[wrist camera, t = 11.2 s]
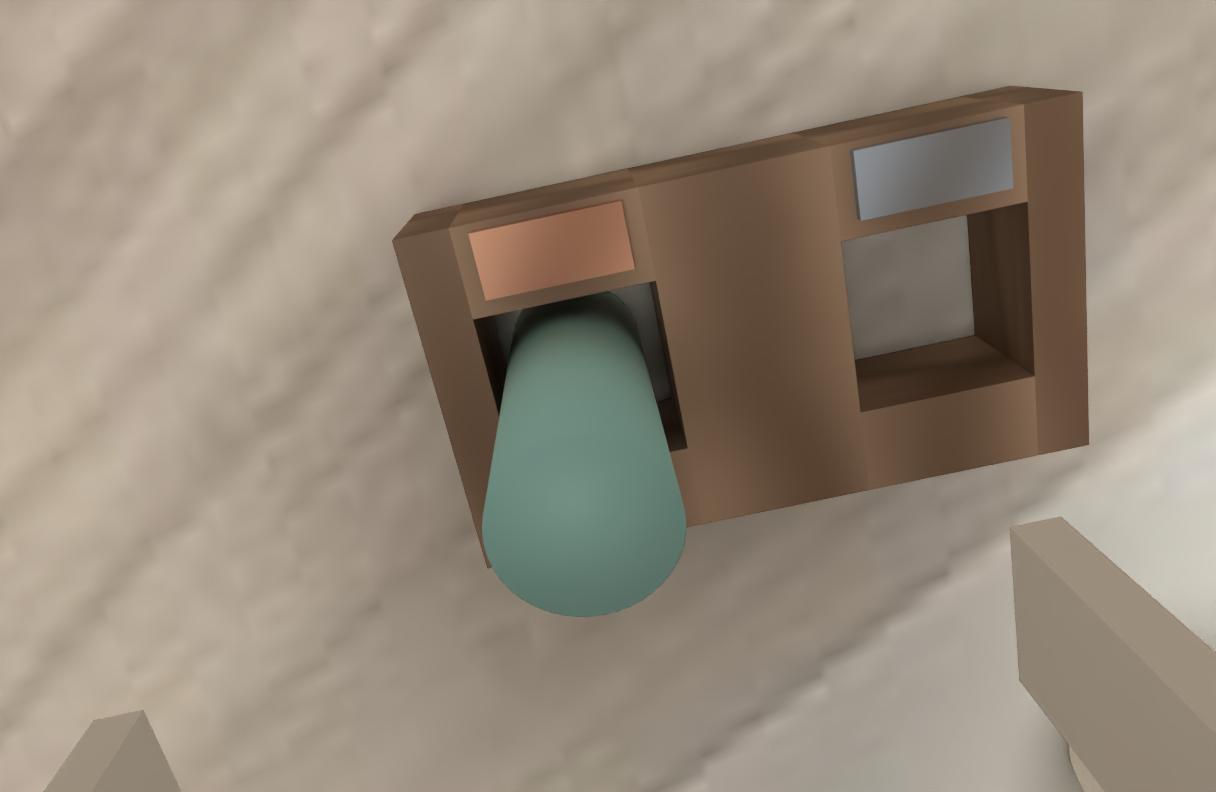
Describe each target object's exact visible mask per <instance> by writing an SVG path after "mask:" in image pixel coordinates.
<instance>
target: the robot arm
mask: <svg viewBox="0 0 1216 792" xmlns="http://www.w3.org/2000/svg"><path fill="white" fill-rule="evenodd" d="M1010 539H1011V555H1012V571H1013V587H1014V603H1015V619H1016V636H1017V652H1018V668H1019V680H1020V682H1021V683H1022V684H1023V686H1024V687H1025V688H1026V690H1027V691H1028V692H1029V694H1030V695H1031V696H1032V697H1033V699H1034V700H1035V701H1036V703H1037V704H1038V705H1039V707H1040V708H1041V709H1042V711H1043V712H1044V713H1045V714H1046V716H1047V717H1048V718H1049V720H1050V721H1051V722H1052V724H1053V725H1054V726H1055V727H1056V729H1057V730H1058V731H1059V733H1060V734H1061V735H1062V737H1063V738H1064V739H1065V741H1066V742H1067V743H1068V744H1069V746H1070V747H1071V748H1072V750H1073V751H1074V752H1075V754H1076V755H1077V756H1078V758H1079V759H1080V760H1081V761H1082V763H1083V764H1084V765H1085V767H1086V768H1087V769H1088V771H1089V772H1090V773H1091V775H1092V776H1093V777H1094V778H1095V780H1096V781H1097V782H1098V784H1099V785H1100V786H1101V788H1102V789H1103V790H1104V792H1216V652H1214V651H1213V650H1212V649H1211V648H1210V647H1209V646H1208V645H1207V644H1205V643H1204V642H1203V641H1202V640H1201V639H1200V638H1199V637H1197V636H1196V635H1195V634H1194V633H1193V632H1192V631H1191V630H1189V629H1188V628H1187V627H1186V626H1185V625H1184V624H1183V623H1182V622H1180V621H1179V620H1178V619H1177V618H1176V617H1175V616H1174V615H1172V614H1171V613H1170V612H1169V611H1168V610H1167V609H1166V608H1164V607H1163V606H1162V605H1161V604H1160V603H1159V602H1158V601H1156V600H1155V599H1154V598H1153V597H1152V596H1151V595H1150V594H1149V593H1147V592H1146V591H1145V590H1144V589H1143V588H1142V587H1141V586H1139V585H1138V584H1137V583H1136V582H1135V581H1134V580H1133V579H1131V578H1130V577H1129V576H1128V575H1127V574H1126V573H1125V572H1123V571H1122V570H1121V569H1120V568H1119V567H1118V566H1117V565H1116V564H1114V563H1113V562H1112V561H1111V560H1110V559H1109V558H1108V557H1106V556H1105V555H1104V554H1103V553H1102V552H1101V551H1100V550H1098V549H1097V548H1096V547H1095V546H1094V545H1093V544H1092V543H1091V542H1089V541H1088V540H1087V539H1086V538H1085V537H1084V536H1083V535H1081V534H1080V533H1079V532H1078V531H1077V530H1076V529H1075V528H1073V527H1072V526H1071V525H1070V524H1069V523H1068V522H1067V521H1065V520H1064V519H1063V518H1062V517H1057V518H1052V519H1047V520H1043V521H1038V522H1033V523H1028V524H1024V525H1019V526H1014V527H1010ZM44 792H181V790H180V788H179V786H178V784H177V781H176V779H175V777H174V775H173V773H172V771H171V768H170V766H169V764H168V762H167V760H166V758H165V755H164V753H163V751H162V749H161V747H160V745H159V742H158V740H157V738H156V736H155V734H154V732H153V730H152V727H151V725H150V723H149V721H148V719H147V717H146V714H145V712H144V710H141V711H136V712H131V713H127V714H122V715H117V716H113V717H108V718H103V719H98V720H94V721H93V722H92V723H91V725H90V726H89V728H88V729H87V731H86V732H85V733H84V735H83V736H82V738H81V739H80V741H79V742H78V743H77V745H76V746H75V748H74V749H73V751H72V752H71V753H70V755H69V756H68V758H67V759H66V761H65V762H64V763H63V765H62V766H61V768H60V769H59V771H58V772H57V773H56V775H55V776H54V778H53V779H52V781H51V782H50V783H49V785H48V786H47V788H46V789H45V791H44Z"/></svg>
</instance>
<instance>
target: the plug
mask: <svg viewBox="0 0 1216 792" xmlns="http://www.w3.org/2000/svg"><path fill="white" fill-rule="evenodd" d="M482 536H483V543H484V547H485V551H486V554H487V557H488V559H489V562H490V564H491V566H492V567H493V569H494V571H495V573H496V574H497V575H498V577H499V578H500V579H501V581H502V582H503V583H504V584H505V585H506V586H507V587H508V588H509V589H510V590H511V591H512V592H513V593H515V594H516V595H517V596H518V597H520V598H521V599H523V600H524V601H526V602H528V603H529V604H531V605H533V606H536V607H538V608H540V609H542V610H545V611H549V612H552V613H555V614H560V615H566V616H576V617H588V616H599V615H605V614H609V613H613V612H617V611H620V610H622V609H625V608H627V607H630V606H632V605H634V604H636V603H638V602H639V601H641V600H643V599H644V598H646V597H647V596H648V595H650V594H651V593H652V592H654V591H655V590H656V589H657V588H658V587H659V586H660V585H661V584H662V583H663V582H664V581H665V580H666V579H667V577H668V576H669V575H670V573H671V572H672V570H673V569H674V567H675V565H676V563H677V561H678V559H679V557H680V555H681V552H682V549H683V546H684V541H685V536H686V515H685V508H684V504H683V501H682V497H681V493H680V489H679V486H678V482H677V478H676V474H675V471H674V467H673V463H672V459H671V456H670V452H669V448H668V444H667V441H666V437H665V433H664V429H663V425H662V422H661V418H660V414H659V410H658V407H657V403H656V399H655V395H654V392H653V388H652V384H651V380H650V377H649V373H648V369H647V365H646V362H645V358H644V354H643V350H642V346H641V343H640V339H639V335H638V331H637V328H636V324H635V322H634V319H633V317H632V315H631V313H630V312H629V310H628V309H627V307H626V306H625V305H624V304H623V303H622V302H621V301H620V300H619V299H618V298H617V297H616V296H615V295H613V294H612V293H610V292H609V291H605V292H600V293H596V294H591V295H586V296H581V297H577V298H572V299H567V300H563V301H558V302H553V303H548V304H544V305H539V306H534V307H530V308H525V309H523V310H522V312H521V314H520V315H519V317H518V319H517V322H516V324H515V328H514V332H513V337H512V343H511V349H510V355H509V361H508V367H507V373H506V379H505V386H504V392H503V398H502V404H501V410H500V416H499V422H498V428H497V434H496V440H495V446H494V452H493V458H492V464H491V470H490V476H489V482H488V488H487V494H486V500H485V506H484V512H483V521H482Z"/></svg>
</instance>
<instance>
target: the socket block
mask: <svg viewBox="0 0 1216 792" xmlns="http://www.w3.org/2000/svg"><path fill="white" fill-rule="evenodd" d="M962 215H968V230H969V246H970V261H971V277H972V293H973V308H974V324H975V336H970V337H965V338H961V339H956V340H951V341H946V342H942V343H937V344H932V345H927V346H922V347H918V348H913V349H908V350H903V351H899V352H894V353H889V354H884V355H879V356H875V357H870V358H865V359H860V360H854V351H853V342H852V334H851V325H850V316H849V308H848V299H847V290H846V281H845V273H844V264H843V255H842V247H841V241H845V240H850V239H854V238H859V237H864V236H868V235H873V234H878V233H883V232H887V231H892V230H897V229H901V228H906V227H911V226H915V225H920V224H925V223H930V222H934V221H939V220H944V219H948V218H953V217H958V216H962ZM392 242H393V246H394V249H395V252H396V256H397V259H398V263H399V266H400V270H401V273H402V277H403V280H404V283H405V287H406V290H407V294H408V297H409V301H410V304H411V307H412V311H413V314H414V318H415V321H416V325H417V328H418V331H419V335H420V338H421V342H422V345H423V349H424V352H425V356H426V359H427V362H428V366H429V369H430V373H431V376H432V380H433V383H434V386H435V390H436V393H437V397H438V400H439V404H440V407H441V410H442V414H443V417H444V421H445V424H446V428H447V431H448V434H449V438H450V441H451V445H452V448H453V452H454V455H455V459H456V462H457V465H458V469H459V472H460V476H461V479H462V483H463V486H464V489H465V493H466V496H467V500H468V503H469V507H470V510H471V513H472V517H473V520H474V524H475V527H476V531H477V534H478V538H479V541H480V544H481V548H482V551H483V555H484V558H485V562H486V565H487V568H491V567H492V566H491V564H490V562H489V559H488V557H487V554H486V551H485V547H484V543H483V536H482V521H483V512H484V506H485V500H486V494H487V488H488V482H489V476H490V470H491V464H492V458H493V452H494V446H495V440H496V434H497V428H498V422H499V416H500V410H501V404H502V398H503V392H504V386H505V379H506V373H507V370H506V366H505V362H504V358H503V354H502V350H501V346H500V343H499V339H498V335H497V331H496V327H495V323H494V319H493V316H492V315H497V314H501V313H506V312H511V311H516V310H520V309H525V308H530V307H534V306H539V305H544V304H548V303H553V302H558V301H563V300H567V299H572V298H577V297H581V296H586V295H591V294H596V293H600V292H605V291H610V290H614V289H619V288H624V287H628V286H633V285H638V284H643V283H647V282H649V283H650V288H651V293H652V298H653V303H654V309H655V314H656V319H657V324H658V329H659V334H660V340H661V345H662V350H663V355H664V360H665V365H666V371H667V376H668V381H669V386H670V391H671V397H672V399H669V400H664V401H659V402H656V403H657V407H658V410H659V414H660V418H661V422H662V425H663V429H664V433H665V437H666V441H667V444H668V448H669V452H670V456H671V459H672V463H673V467H674V471H675V474H676V478H677V482H678V486H679V489H680V493H681V497H682V501H683V504H684V508H685V515H686V527H691V526H696V525H701V524H706V523H711V522H715V521H720V520H725V519H730V518H735V517H740V516H745V515H750V514H754V513H759V512H764V511H769V510H774V509H779V508H784V507H788V506H793V505H798V504H803V503H808V502H813V501H818V500H823V499H827V498H832V497H837V496H842V495H847V494H852V493H857V492H861V491H866V490H871V489H876V488H881V487H886V486H891V485H896V484H900V483H905V482H910V481H915V480H920V479H925V478H930V477H935V476H939V475H944V474H949V473H954V472H959V471H964V470H969V469H973V468H978V467H983V466H988V465H993V464H998V463H1003V462H1008V461H1012V460H1017V459H1022V458H1027V457H1032V456H1037V455H1042V454H1046V453H1051V452H1056V451H1061V450H1066V449H1071V448H1076V447H1081V446H1085V445H1089V420H1088V366H1087V312H1086V258H1085V204H1084V150H1083V97H1082V92H1080V91H1067V90H1055V89H1042V88H1030V87H1017V86H1008V87H1003V88H999V89H994V90H989V91H985V92H980V93H975V94H971V95H966V96H961V97H957V98H952V99H948V100H943V101H938V102H934V103H929V104H924V105H920V106H915V107H910V108H906V109H901V110H897V111H892V112H887V113H883V114H878V115H873V116H869V117H864V118H860V119H855V120H850V121H846V122H841V123H836V124H832V125H827V126H822V127H818V128H813V129H809V130H804V131H799V132H795V133H790V134H785V135H781V136H776V137H772V138H767V139H762V140H758V141H753V142H748V143H744V144H739V145H734V146H730V147H725V148H721V149H716V150H711V151H707V152H702V153H697V154H693V155H688V156H684V157H679V158H674V159H670V160H665V161H660V162H656V163H651V164H646V165H642V166H637V167H633V168H628V169H623V170H619V171H614V172H609V173H605V174H600V175H596V176H591V177H586V178H582V179H577V180H572V181H568V182H563V183H558V184H554V185H549V186H545V187H540V188H535V189H531V190H526V191H521V192H517V193H512V194H508V195H503V196H498V197H494V198H489V199H484V200H480V201H475V202H470V203H466V204H461V205H457V206H452V207H447V208H443V209H438V210H433V211H429V212H424V213H420V214H415V215H414V216H413V217H412V218H411V219H410V220H409V222H408V223H407V224H406V225H405V226H404V227H403V228H402V230H401V231H400V232H399V233H398V234H397V235H396V236H395V238H394V239H393V240H392Z"/></svg>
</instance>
